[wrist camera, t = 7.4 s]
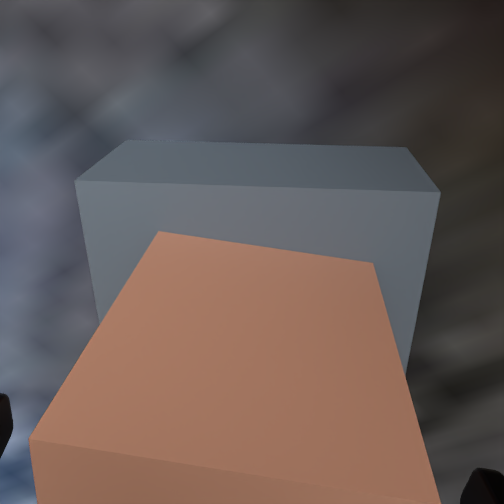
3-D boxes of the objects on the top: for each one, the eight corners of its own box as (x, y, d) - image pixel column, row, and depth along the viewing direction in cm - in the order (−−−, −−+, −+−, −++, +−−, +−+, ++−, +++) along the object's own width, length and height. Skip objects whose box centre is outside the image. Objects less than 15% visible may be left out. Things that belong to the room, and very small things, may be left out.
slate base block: (404, 144, 14) (440, 192, 10) (371, 363, 17) (389, 455, 14) (130, 137, 14) (74, 180, 11) (154, 350, 18) (118, 435, 14)
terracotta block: (373, 263, 11) (441, 504, 6) (330, 418, 13) (350, 693, 8) (158, 230, 11) (28, 438, 6) (153, 391, 13) (57, 644, 8)
